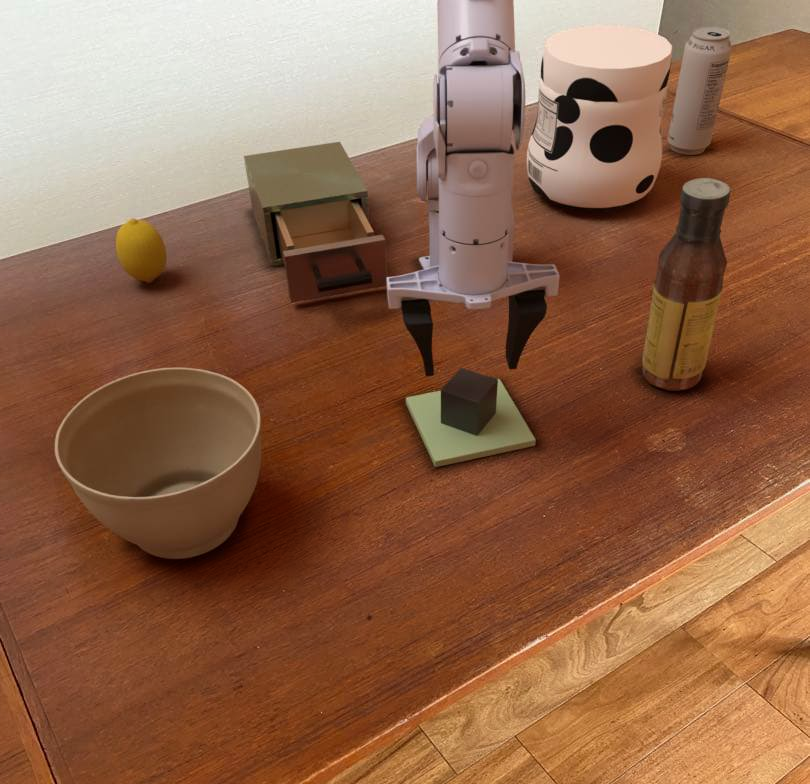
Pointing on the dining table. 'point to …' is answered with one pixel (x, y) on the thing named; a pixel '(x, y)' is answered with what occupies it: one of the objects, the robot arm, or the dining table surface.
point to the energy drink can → (699, 90)
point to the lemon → (141, 250)
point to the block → (468, 401)
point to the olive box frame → (300, 184)
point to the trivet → (460, 446)
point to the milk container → (599, 117)
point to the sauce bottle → (687, 289)
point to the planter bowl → (164, 458)
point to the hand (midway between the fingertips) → (469, 366)
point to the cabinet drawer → (329, 250)
